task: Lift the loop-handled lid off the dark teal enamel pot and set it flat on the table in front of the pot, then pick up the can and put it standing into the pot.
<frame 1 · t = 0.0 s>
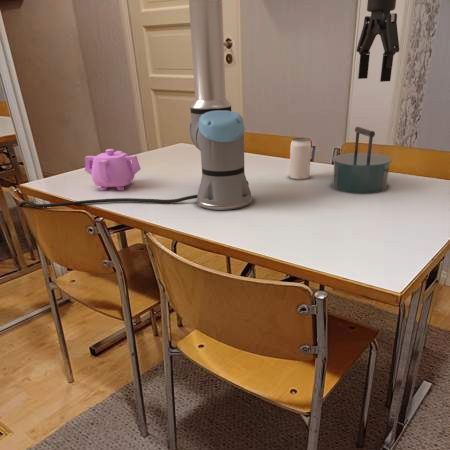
hand: (373, 80, 137), 28 cm above the table, tool pointing down, fingers open, 13 cm apart
lid: (361, 160, 136), point 7 cm above the table, touching pot
pot 2: (115, 187, 150), on the table
can: (299, 177, 152), on the table
pot: (359, 186, 140), on the table
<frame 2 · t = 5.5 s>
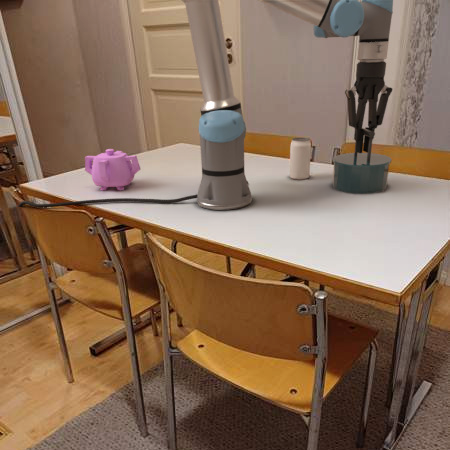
hand: (362, 151, 135), 10 cm above the table, tool pointing down, fingers closed on lid, 2 cm apart
lid: (361, 160, 136), point 8 cm above the table, touching gripper, pot
everything else where it was.
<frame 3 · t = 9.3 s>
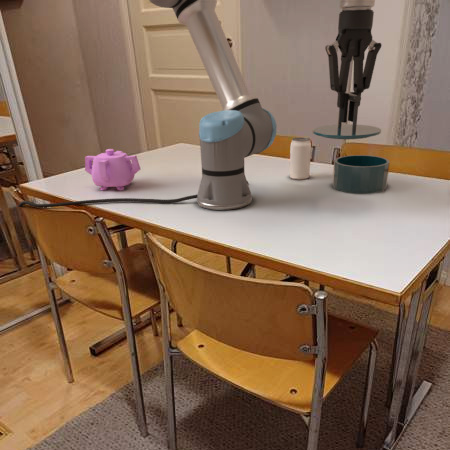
hand: (347, 121, 115), 21 cm above the table, tool pointing down, fingers closed on lid, 2 cm apart
lid: (346, 132, 116), point 19 cm above the table, touching gripper
everything else where it was.
when the fingers open (3 cm above the table, at t = 13.3 s): lid stays where it is, point 1 cm above the table.
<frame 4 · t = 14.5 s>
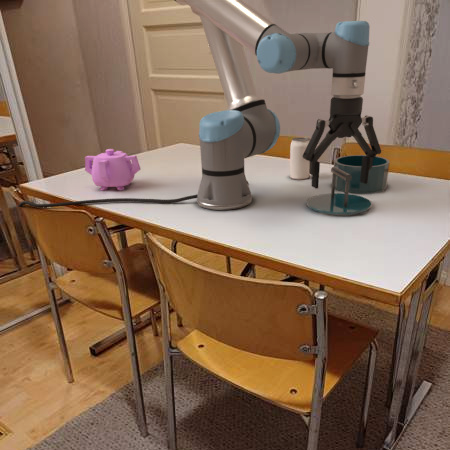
hand: (339, 184, 121), 6 cm above the table, tool pointing down, fingers open, 13 cm apart
lid: (338, 204, 124), point 1 cm above the table
everything else where it was.
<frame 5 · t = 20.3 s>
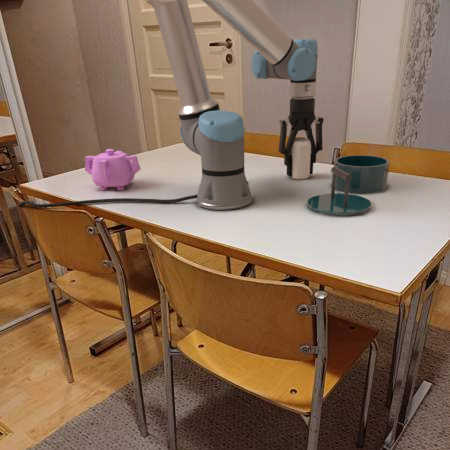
hand: (299, 174, 151), 1 cm above the table, tool pointing down, fingers closed on can, 6 cm apart
can: (299, 177, 152), on the table, touching gripper
everything else where it was.
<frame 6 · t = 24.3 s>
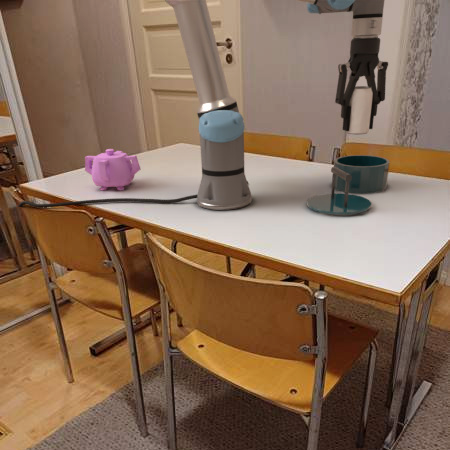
hand: (357, 129, 134), 16 cm above the table, tool pointing down, fingers closed on can, 6 cm apart
can: (356, 133, 134), point 15 cm above the table, touching gripper
everything else where it was.
when the fingers open (1 cm above the table, at t = 28.4 s): can stays where it is, resting on pot.
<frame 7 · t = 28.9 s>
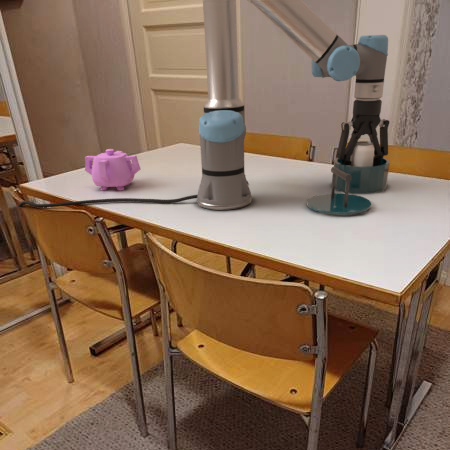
hand: (359, 181, 139), 1 cm above the table, tool pointing down, fingers open, 8 cm apart
can: (359, 185, 140), resting on pot
everything else where it was.
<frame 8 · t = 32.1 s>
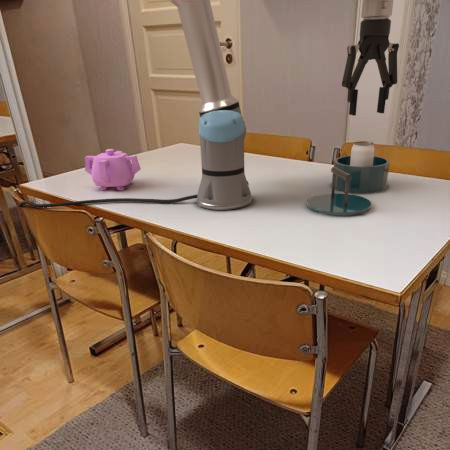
hand: (366, 113, 130), 20 cm above the table, tool pointing down, fingers open, 8 cm apart
nothing on the table moved.
at the end: lid inside the target area on the table beside the pot (0.1 cm from its centre), point 0.6 cm above the table; can inside the target area in the pot (0.0 cm from its centre), point 0.3 cm above the pot's base; can tilted 0° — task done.
